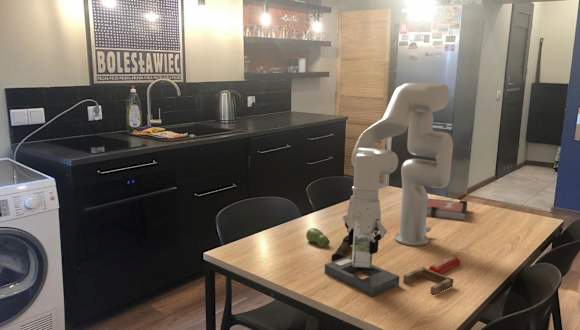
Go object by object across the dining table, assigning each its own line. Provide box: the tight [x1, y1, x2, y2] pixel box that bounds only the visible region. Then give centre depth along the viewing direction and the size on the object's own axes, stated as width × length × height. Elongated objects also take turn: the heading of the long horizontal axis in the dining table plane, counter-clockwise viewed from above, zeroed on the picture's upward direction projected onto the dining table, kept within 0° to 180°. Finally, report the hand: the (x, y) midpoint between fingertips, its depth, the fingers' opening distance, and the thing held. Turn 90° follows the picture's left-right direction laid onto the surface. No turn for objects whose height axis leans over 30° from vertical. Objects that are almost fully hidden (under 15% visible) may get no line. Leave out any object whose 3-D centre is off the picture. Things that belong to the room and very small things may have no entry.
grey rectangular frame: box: [324, 255, 400, 298], centre depth 147 cm, size 12×20×3 cm, turn 40°
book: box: [426, 198, 468, 222], centre depth 217 cm, size 26×18×5 cm
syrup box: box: [351, 221, 373, 268], centre depth 145 cm, size 6×6×14 cm
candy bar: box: [428, 255, 461, 275], centre depth 156 cm, size 16×4×3 cm, turn 132°
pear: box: [305, 227, 331, 248], centre depth 175 cm, size 6×5×10 cm
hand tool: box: [330, 234, 351, 262], centre depth 166 cm, size 19×4×5 cm, turn 158°
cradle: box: [402, 266, 454, 296], centre depth 144 cm, size 10×11×2 cm
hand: (362, 248), depth 145 cm, fingers closed on syrup box, 8 cm apart
